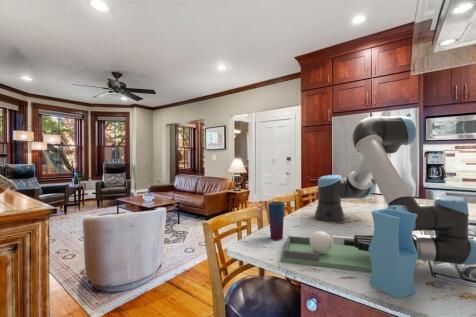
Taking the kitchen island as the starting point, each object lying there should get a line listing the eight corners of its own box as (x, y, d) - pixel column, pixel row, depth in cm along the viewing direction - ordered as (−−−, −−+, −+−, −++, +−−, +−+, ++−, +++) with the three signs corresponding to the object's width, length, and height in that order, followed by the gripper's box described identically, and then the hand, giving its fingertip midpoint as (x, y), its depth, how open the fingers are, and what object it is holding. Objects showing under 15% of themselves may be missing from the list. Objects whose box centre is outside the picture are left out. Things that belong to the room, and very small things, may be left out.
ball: (327, 231, 87) (307, 237, 88) (326, 225, 81) (305, 232, 82) (335, 252, 82) (314, 258, 84) (336, 248, 76) (313, 254, 77)
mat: (382, 252, 84) (382, 249, 84) (398, 275, 69) (398, 271, 69) (285, 243, 94) (285, 240, 94) (281, 261, 79) (281, 257, 79)
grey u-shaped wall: (317, 244, 90) (317, 238, 90) (319, 261, 76) (318, 254, 76) (288, 241, 93) (288, 235, 93) (284, 257, 79) (284, 250, 79)
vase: (397, 299, 58) (397, 218, 57) (368, 283, 65) (368, 211, 64) (417, 291, 61) (417, 214, 60) (387, 277, 68) (387, 208, 67)
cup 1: (274, 234, 105) (274, 200, 105) (287, 237, 101) (287, 202, 100) (265, 238, 101) (264, 203, 100) (278, 242, 96) (278, 205, 95)
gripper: (423, 268, 68) (335, 259, 75) (405, 250, 81) (331, 243, 87) (423, 242, 68) (335, 235, 75) (405, 228, 80) (331, 223, 87)
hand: (333, 240), depth 81 cm, fingers closed
